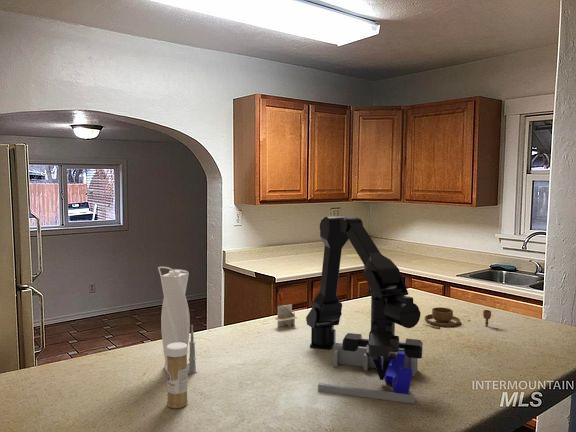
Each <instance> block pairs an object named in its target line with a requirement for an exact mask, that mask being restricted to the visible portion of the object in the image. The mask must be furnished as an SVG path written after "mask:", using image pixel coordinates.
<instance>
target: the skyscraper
mask: <svg viewBox="0 0 576 432" xmlns="http://www.w3.org/2000/svg"><path fill="white" fill-rule="evenodd" d="M161 269H168V270H169V271H168V273H164V274H162V271H161ZM157 270H158V273H159V275H160V281H161V289H162V292H163V293H162V294H163V299H162V306H161V315H160V316H161V319H160V322H161V323H160V324H161V325H160V326H161V327H160V329H161V338H162V339H161V341H162V349H163V355H164V365H163V369H164V371H165V373H166V374H167V371H168V370H167V355H166V347H167V345H169V344H171V343H177V342H181V343H185V344H187V348H189V358H188V362H187V376H188V375H193V374H197V373H198V371H197V367H196V366H197V365H196V360H197V357H196V347H195V346H196V341H195V337H194V332H195V331H193V330H194V329H193V328H194V325H193V324H190V323H191V322H190V320H191V319H190V309H189V305H188V300H187V296H186V293H187V287H188V281H189V280H188V279H189V275H190V274H189V271H188V270H185V269H179V268H171V267H169V266H158V267H157ZM190 327H191V329H190ZM189 339H190V341H189Z"/></svg>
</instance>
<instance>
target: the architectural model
mask: <svg viewBox="0 0 576 432" xmlns="http://www.w3.org/2000/svg"><path fill="white" fill-rule="evenodd" d="M296 319H297V317H296V312H295V311H294V312H293V304H292V303H291V304H290V303H289V304H285V305H278V306H277V317H274V320H276V321H277V327H278V328H279V327H284V326H285V327H286V326H288V327H291V325H292V326H295V325H296Z"/></svg>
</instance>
